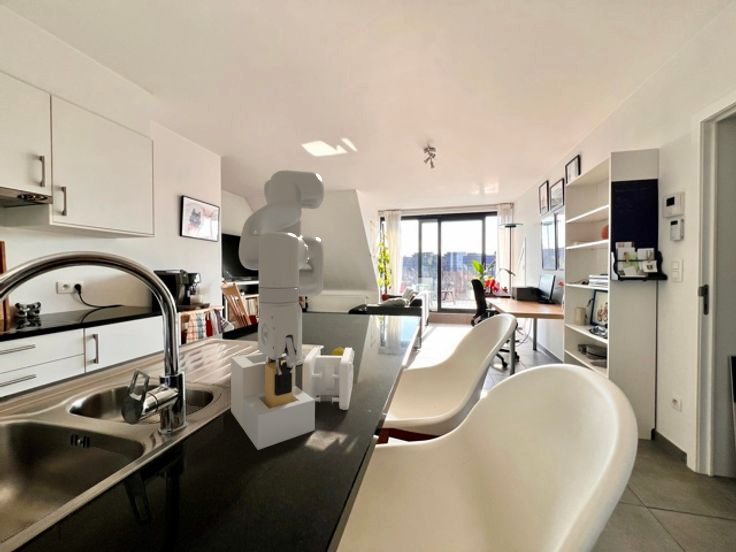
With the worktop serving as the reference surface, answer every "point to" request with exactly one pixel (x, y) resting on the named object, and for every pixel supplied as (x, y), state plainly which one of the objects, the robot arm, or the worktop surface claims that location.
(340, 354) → the lemon
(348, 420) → the worktop surface
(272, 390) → the plug
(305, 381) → the cable organizer
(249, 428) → the stepped foam insert
